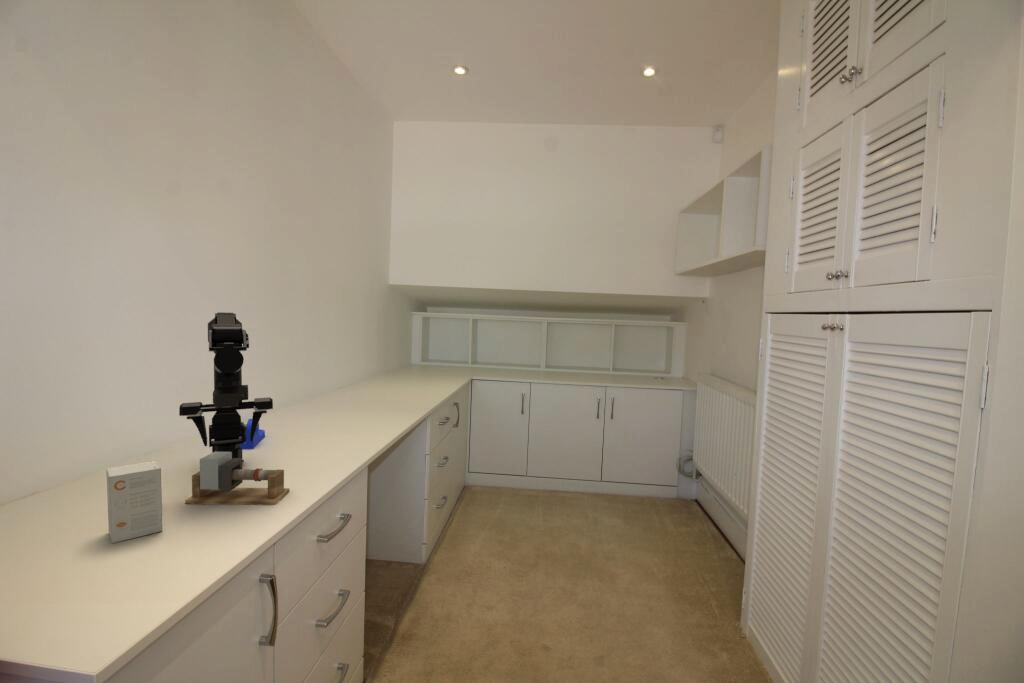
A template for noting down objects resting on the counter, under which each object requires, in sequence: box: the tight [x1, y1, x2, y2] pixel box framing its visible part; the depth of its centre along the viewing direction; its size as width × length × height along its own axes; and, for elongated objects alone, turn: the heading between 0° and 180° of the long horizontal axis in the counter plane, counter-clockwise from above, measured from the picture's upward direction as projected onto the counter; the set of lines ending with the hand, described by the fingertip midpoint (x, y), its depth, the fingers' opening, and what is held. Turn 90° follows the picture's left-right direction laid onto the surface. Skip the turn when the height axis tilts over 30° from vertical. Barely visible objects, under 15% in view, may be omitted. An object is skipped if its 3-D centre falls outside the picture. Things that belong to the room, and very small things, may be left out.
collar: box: [220, 457, 244, 492], centre depth 115 cm, size 2×6×6 cm, turn 3°
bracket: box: [239, 418, 266, 450], centre depth 161 cm, size 18×8×9 cm, turn 14°
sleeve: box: [199, 452, 232, 490], centre depth 115 cm, size 4×6×7 cm, turn 2°
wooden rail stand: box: [184, 468, 290, 506], centre depth 115 cm, size 20×8×7 cm, turn 92°
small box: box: [106, 460, 163, 544], centre depth 96 cm, size 8×6×13 cm
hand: (229, 443), depth 114 cm, fingers open, 9 cm apart
